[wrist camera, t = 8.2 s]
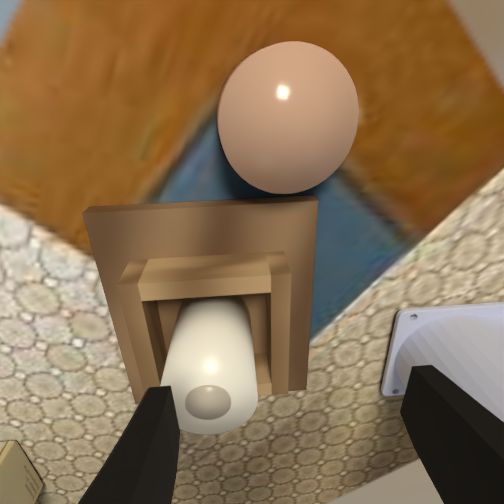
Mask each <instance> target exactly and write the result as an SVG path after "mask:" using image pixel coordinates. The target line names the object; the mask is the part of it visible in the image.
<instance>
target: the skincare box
mask: <svg viewBox="0 0 504 504" xmlns="http://www.w3.org/2000/svg"><path fill="white" fill-rule="evenodd" d="M42 487H43V483H42V482H41V480H40V478H39V477H38V475H37V473H36V472H35V470H34V468H33V467H32V465H31V463H30V462H29V460H28V458H27V457H26V455H25V454H24V452H23V450H22V449H21V447H20V445H19V444H18V442H17V441H15V440H13V441H3V442H0V504H35V502H36V500H37V498H38V496H39V494H40V492H41V490H42Z"/></svg>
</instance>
